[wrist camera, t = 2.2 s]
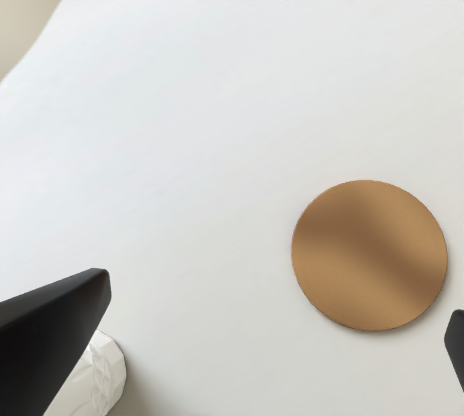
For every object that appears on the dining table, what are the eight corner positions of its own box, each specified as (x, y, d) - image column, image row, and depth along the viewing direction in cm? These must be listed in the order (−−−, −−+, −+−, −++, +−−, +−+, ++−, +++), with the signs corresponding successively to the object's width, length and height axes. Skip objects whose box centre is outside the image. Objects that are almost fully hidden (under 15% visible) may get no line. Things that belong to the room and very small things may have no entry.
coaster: (430, 346, 22) (434, 349, 21) (277, 307, 23) (278, 309, 22) (453, 197, 23) (458, 196, 22) (306, 169, 24) (307, 167, 24)
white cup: (113, 304, 24) (10, 344, 15) (149, 402, 23) (64, 518, 13) (28, 344, 25) (-129, 409, 15) (59, 442, 24) (-89, 584, 14)
